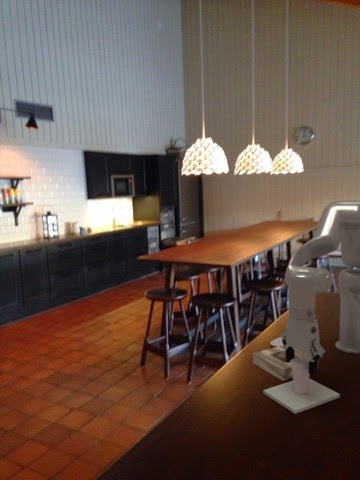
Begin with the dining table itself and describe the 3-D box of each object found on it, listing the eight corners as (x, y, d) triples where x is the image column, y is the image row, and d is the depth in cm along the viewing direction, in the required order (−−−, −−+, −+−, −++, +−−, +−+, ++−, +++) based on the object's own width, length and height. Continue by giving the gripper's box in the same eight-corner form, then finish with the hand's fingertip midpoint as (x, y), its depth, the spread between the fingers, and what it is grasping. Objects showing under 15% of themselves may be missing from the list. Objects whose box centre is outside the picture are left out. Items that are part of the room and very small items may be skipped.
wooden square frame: (286, 354, 159) (286, 344, 159) (318, 369, 145) (318, 358, 145) (253, 363, 152) (253, 353, 151) (283, 380, 138) (283, 369, 137)
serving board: (305, 379, 138) (305, 376, 138) (339, 397, 126) (339, 394, 126) (263, 393, 130) (263, 390, 130) (295, 413, 118) (295, 410, 117)
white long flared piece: (308, 328, 188) (309, 321, 187) (289, 353, 160) (289, 345, 160) (289, 325, 192) (289, 318, 192) (266, 350, 165) (266, 341, 164)
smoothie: (313, 397, 124) (312, 352, 123) (290, 396, 126) (290, 351, 124) (310, 387, 131) (310, 344, 129) (289, 386, 132) (289, 343, 130)
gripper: (333, 318, 119) (332, 375, 121) (290, 304, 134) (290, 355, 136) (314, 323, 115) (313, 381, 118) (272, 308, 131) (272, 360, 133)
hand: (301, 367), depth 127 cm, fingers open, 9 cm apart
